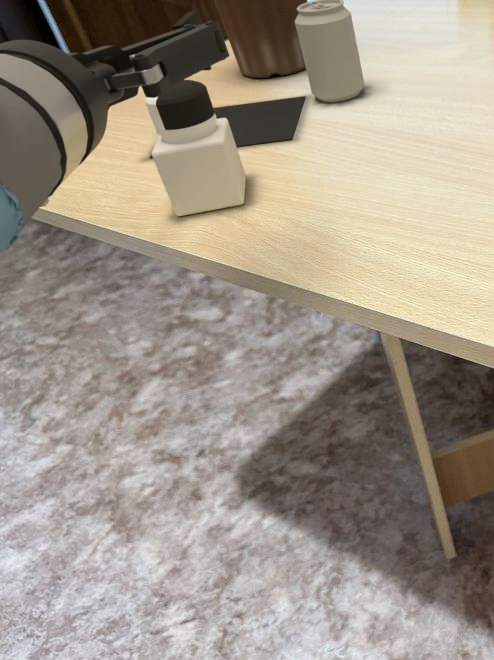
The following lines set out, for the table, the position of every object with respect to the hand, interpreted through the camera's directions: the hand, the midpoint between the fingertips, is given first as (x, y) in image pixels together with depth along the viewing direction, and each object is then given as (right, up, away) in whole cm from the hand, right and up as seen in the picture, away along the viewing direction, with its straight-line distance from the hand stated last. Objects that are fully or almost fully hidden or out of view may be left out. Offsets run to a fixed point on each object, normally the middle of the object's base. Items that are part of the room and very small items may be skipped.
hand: (119, 43), depth 58 cm
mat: (-2, +4, +34) cm, 35 cm away
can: (+11, +10, +40) cm, 43 cm away
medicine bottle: (+2, -9, +17) cm, 20 cm away
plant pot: (-1, +20, +54) cm, 58 cm away
